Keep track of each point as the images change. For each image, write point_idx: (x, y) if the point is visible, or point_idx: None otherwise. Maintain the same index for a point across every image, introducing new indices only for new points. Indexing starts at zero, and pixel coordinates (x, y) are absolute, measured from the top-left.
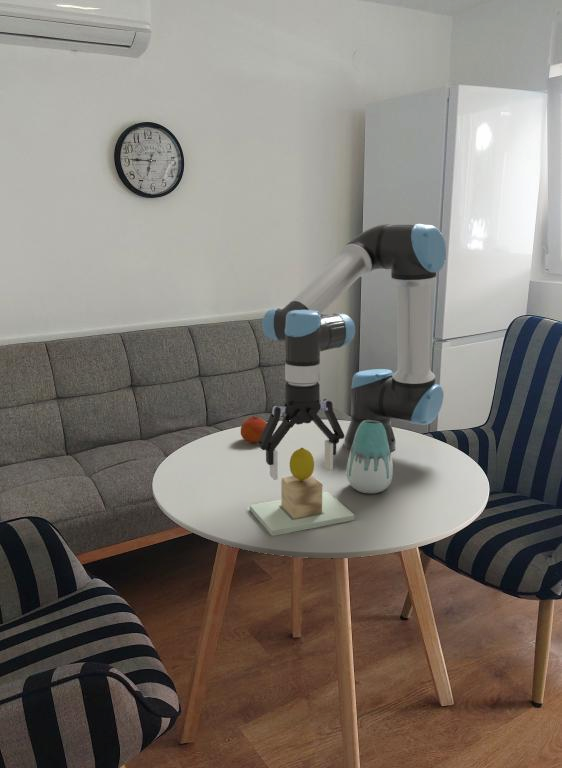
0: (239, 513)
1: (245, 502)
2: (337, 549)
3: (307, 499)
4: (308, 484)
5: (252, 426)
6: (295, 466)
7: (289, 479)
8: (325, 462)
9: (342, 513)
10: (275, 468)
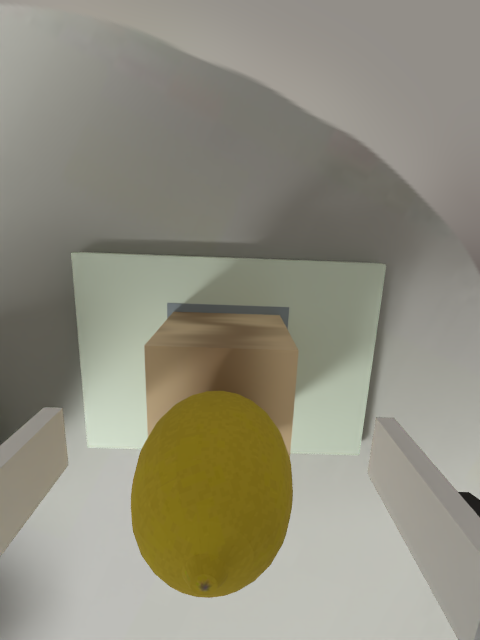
0: None
1: (341, 491)
2: (231, 78)
3: (227, 329)
4: (208, 371)
5: None
6: (281, 447)
7: None
8: (51, 474)
9: (106, 281)
10: (421, 460)
